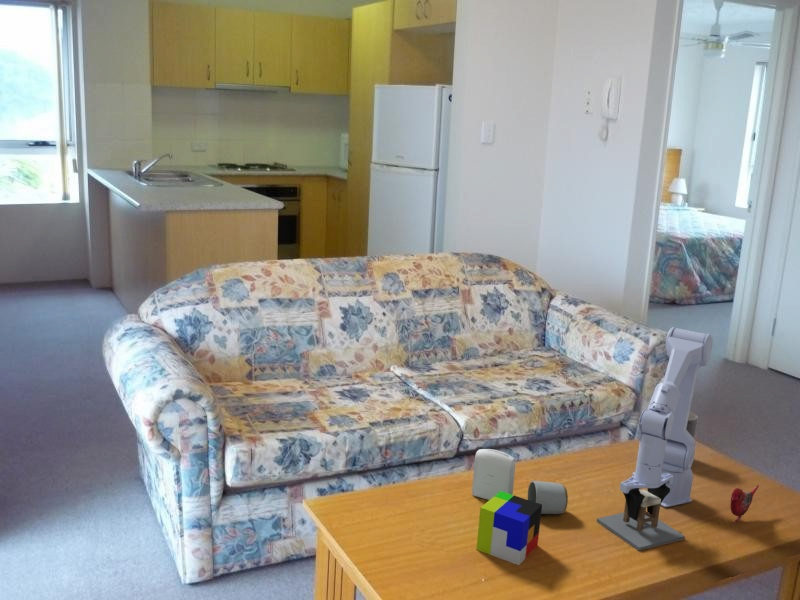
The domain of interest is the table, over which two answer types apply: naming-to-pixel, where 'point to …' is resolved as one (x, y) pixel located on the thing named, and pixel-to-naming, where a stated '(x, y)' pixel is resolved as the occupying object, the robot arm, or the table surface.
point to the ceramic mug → (549, 496)
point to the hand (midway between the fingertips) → (642, 515)
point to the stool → (647, 501)
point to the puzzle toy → (509, 527)
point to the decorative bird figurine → (741, 502)
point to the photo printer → (492, 473)
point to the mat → (640, 532)
